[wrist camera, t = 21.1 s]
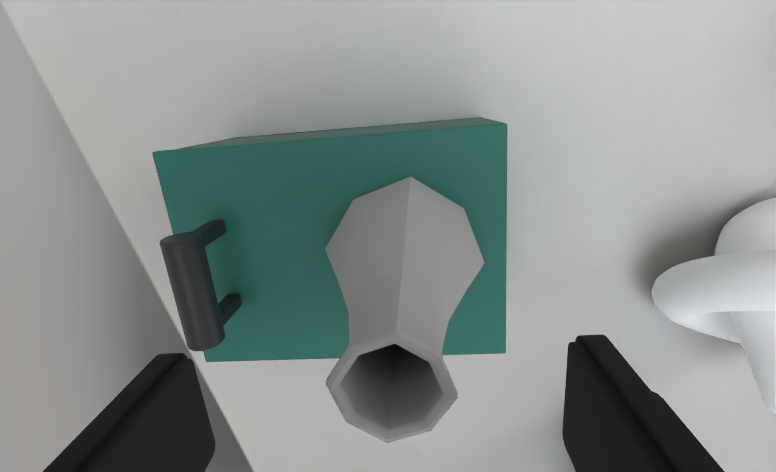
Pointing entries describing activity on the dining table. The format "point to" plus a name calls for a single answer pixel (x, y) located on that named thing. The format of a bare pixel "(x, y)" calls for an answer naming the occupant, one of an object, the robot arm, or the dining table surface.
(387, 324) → the flask
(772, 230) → the white decorative knot
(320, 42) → the dining table surface
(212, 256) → the lunchbox lid
